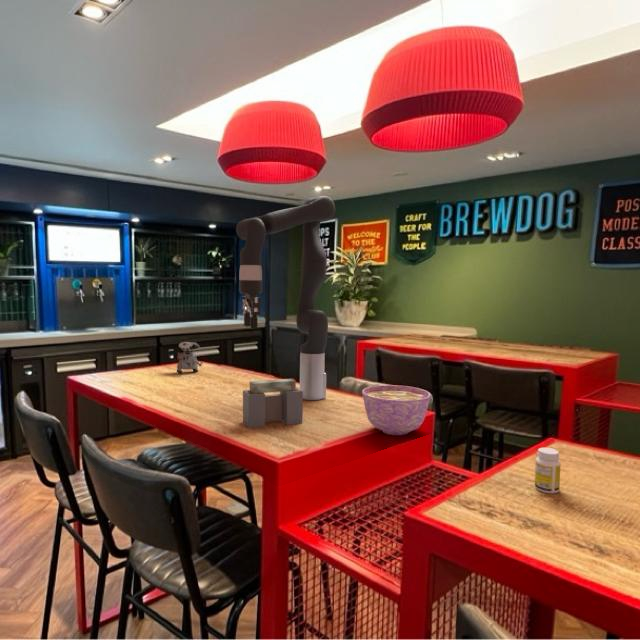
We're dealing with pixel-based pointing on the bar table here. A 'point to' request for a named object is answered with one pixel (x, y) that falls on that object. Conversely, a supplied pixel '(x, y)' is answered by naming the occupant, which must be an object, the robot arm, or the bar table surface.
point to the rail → (272, 386)
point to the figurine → (188, 357)
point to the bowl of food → (395, 407)
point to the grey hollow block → (272, 408)
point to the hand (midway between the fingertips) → (250, 327)
